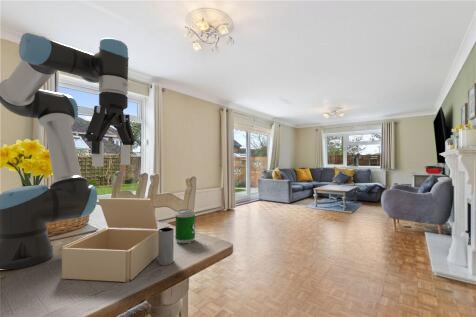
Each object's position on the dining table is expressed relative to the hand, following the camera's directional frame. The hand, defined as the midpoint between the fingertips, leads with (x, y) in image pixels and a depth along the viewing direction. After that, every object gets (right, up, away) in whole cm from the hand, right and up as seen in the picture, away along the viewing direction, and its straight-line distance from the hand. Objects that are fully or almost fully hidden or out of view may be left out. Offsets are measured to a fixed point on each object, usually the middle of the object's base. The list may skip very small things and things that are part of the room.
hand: (113, 165), depth 70 cm
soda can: (+16, -31, +23) cm, 42 cm away
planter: (+15, -31, +4) cm, 34 cm away
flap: (+1, -22, +12) cm, 25 cm away
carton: (0, -30, +2) cm, 30 cm away
